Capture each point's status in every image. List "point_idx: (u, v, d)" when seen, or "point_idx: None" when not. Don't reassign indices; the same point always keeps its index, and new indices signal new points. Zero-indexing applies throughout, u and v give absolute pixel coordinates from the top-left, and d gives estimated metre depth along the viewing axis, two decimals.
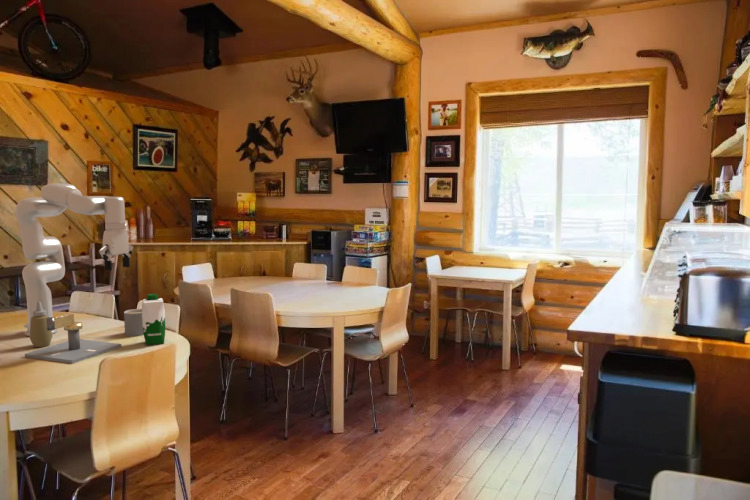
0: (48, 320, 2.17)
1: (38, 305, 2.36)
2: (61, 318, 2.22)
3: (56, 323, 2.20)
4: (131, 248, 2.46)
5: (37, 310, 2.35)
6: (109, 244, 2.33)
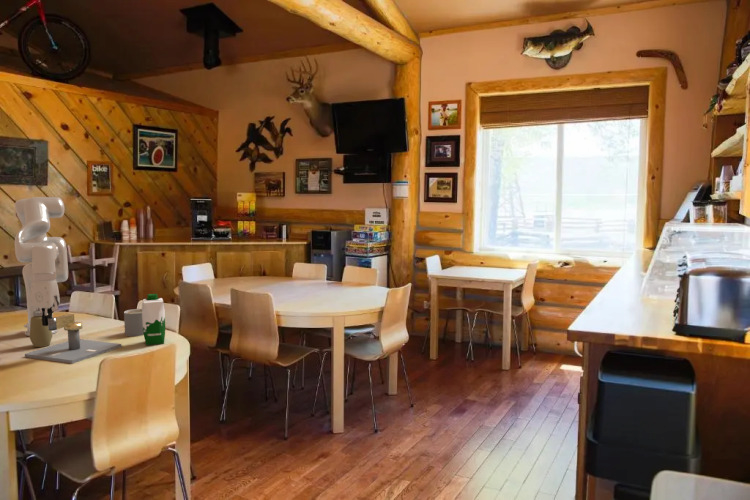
0: (50, 320, 2.17)
1: None
2: (62, 318, 2.22)
3: (58, 323, 2.19)
4: None
5: (37, 310, 2.35)
6: (58, 294, 2.19)
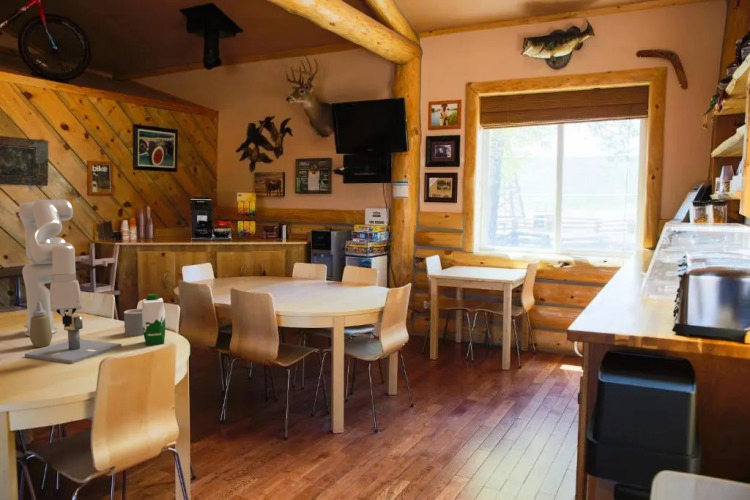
0: (80, 319, 2.19)
1: (38, 305, 2.36)
2: None
3: None
4: None
5: (37, 310, 2.35)
6: (80, 293, 2.21)
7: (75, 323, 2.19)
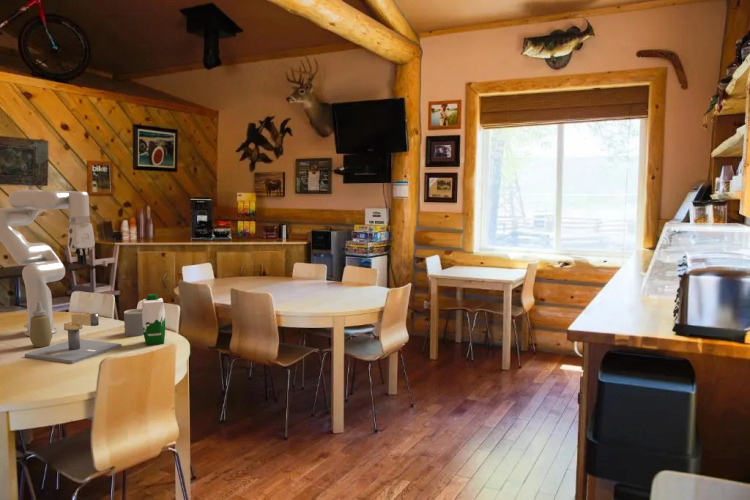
0: (97, 315, 2.26)
1: (38, 305, 2.36)
2: None
3: None
4: None
5: (37, 310, 2.35)
6: None
7: (94, 320, 2.24)
